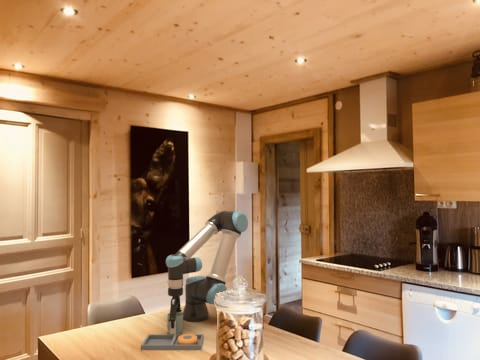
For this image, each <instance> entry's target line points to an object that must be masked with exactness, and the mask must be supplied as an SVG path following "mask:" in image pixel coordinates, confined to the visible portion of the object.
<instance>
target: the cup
mask: <svg viewBox="0 0 480 360" xmlns="http://www.w3.org/2000/svg"><path fill="white" fill-rule="evenodd" d="M169 319H170V312H169V313H167V315H166V320H167V321H166V327H167V332H168V334H170V321H168V320H169ZM172 319H174V318H172ZM175 320H176V334H182V332H183V328H184V319H183V312H182V311H181V312H176V319H175Z"/></svg>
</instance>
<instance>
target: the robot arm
mask: <svg viewBox="0 0 480 360" xmlns="http://www.w3.org/2000/svg"><path fill="white" fill-rule="evenodd" d="M248 226H249V221H248V217H247V215H246V214H245V212H242V211H233V210H232V211H231V210H223V211H220V212H217V213H215V214H214V215H213V216H211V217H210V218H209V219H207V220H206V222H204V226H203V227H202V228H201V229H200V230H198V232H196V234H194V235H193V237H191V238H190V239H189V240H188V241H187V242H186V243H185V244H184V245H183V246H182V247H181V248H180V249H179V250H178V251H177V252H176V253H175V254H170V255H168V256H167V257H166V259H165V264H166V267H167V272H168V273H167V279H168V280H167V281H166V282H167V287H168V288H167V296H169V297H171V299H170V310H169V313H170V319H169V320H168V321H170V334H176V320H175V319H176V312H181V313H183V321H184V320H185V321H188V322H201V321H202V322H203V321H205V320H207V319H209V315H210V314H209V310H208V306H207V304H209V305H214V306H216V305H215V304H214V299H215V294H216V293H219V292H223V291H226V290H227V291H228V288H227V286H226V283H227V282H226V279H225V277H226V275H227V274H226V273H227V271H228V269H229V265H230V261H231V258H232V255H233V252H234V249H235V247H236V246H235V245H236V243H237V239H238V238H241V236H242V233H243V232H245V231H247V229H248ZM219 232H221V233H222V235H221V238H220V242H219V244H218V248H217V251H216V254H215V258H214V260H213V264H212V267H211V269H210V272H209V274H207V275H206V276H204V275H199V276H198V275H197V276H192V277H191V276H190V277H187V278H186V279H185V285H184V275H186V274H192V273H197V272H199V271H200V272H201V270H202V269H203V262H202V259H201V258H200V257H193V256H194V255H196V253H197V252H198V251H200V249H201V248H202V247H203V246H204V245H205V244H206V243H207V242H208V241H209V240H210V239H211V238H212V237H213V236H214V235H217V234H218V233H219ZM183 286H184V287H185V288H183ZM184 289H185V293H184ZM183 295H185V302H184V307H183V310H182V308H181V296H183ZM182 311H183V312H182ZM172 318H174V319H172Z"/></svg>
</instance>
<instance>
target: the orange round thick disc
mask: <svg viewBox="0 0 480 360" xmlns="http://www.w3.org/2000/svg"><path fill="white" fill-rule="evenodd" d="M183 334H184V333H183ZM178 345H197V336H196V335H193V334H192V333H185V334H184V335H181V336H179V337H178Z"/></svg>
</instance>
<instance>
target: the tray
mask: <svg viewBox="0 0 480 360" xmlns="http://www.w3.org/2000/svg"><path fill="white" fill-rule="evenodd" d="M181 335H184V333H183V334H182V333H180V334H169V333H165V334H163V333H161V334H160V333H158V334H157V333H154V334H153V333H152V334H151V333H149V334H147V335H146V337H145V338H144V341H143V342H142V343H141V345H140V351H202V347H203V343H204V337H205V336H204V334H201V333H200V334H199V333H198V334H197V333H196V334H195V333H194V334H193V335H196V336H197V345H178V337H179V336H181Z"/></svg>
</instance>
